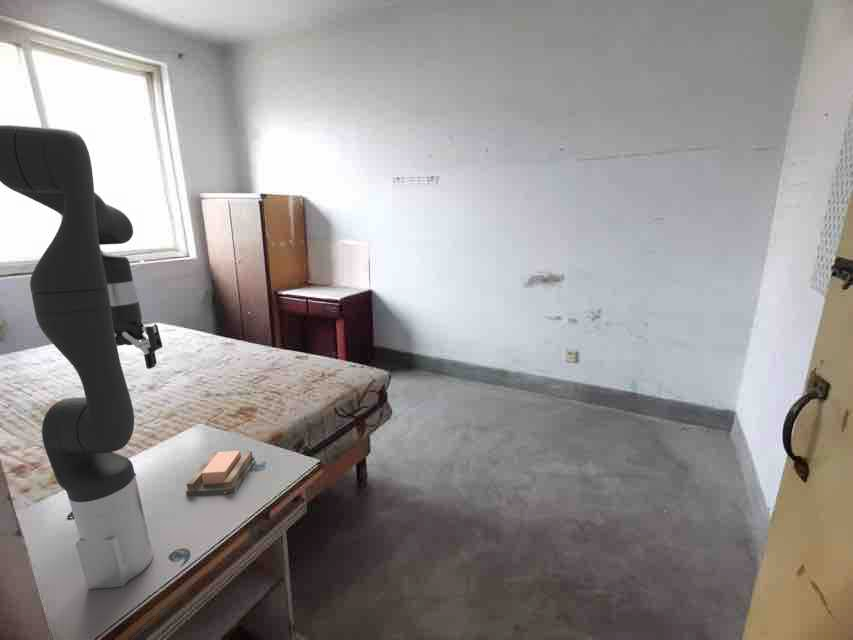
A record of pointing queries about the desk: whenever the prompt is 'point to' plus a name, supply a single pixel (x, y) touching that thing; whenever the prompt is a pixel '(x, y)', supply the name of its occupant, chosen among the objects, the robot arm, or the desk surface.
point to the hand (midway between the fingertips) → (132, 368)
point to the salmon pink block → (220, 467)
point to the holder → (229, 485)
